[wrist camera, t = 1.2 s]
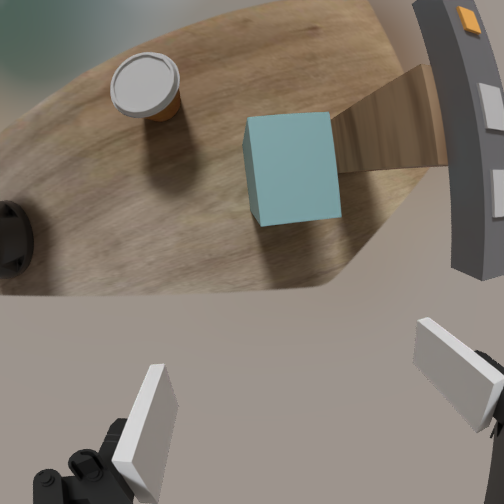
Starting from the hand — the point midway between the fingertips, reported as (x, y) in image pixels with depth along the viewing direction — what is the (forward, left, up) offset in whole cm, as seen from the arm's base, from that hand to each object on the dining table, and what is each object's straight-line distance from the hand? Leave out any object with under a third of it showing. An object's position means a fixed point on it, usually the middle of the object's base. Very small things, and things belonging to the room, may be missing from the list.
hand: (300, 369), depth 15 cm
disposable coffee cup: (-12, +24, -37) cm, 46 cm away
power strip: (+16, +12, -7) cm, 21 cm away
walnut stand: (+16, +13, -37) cm, 42 cm away
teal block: (+4, +10, -37) cm, 38 cm away
